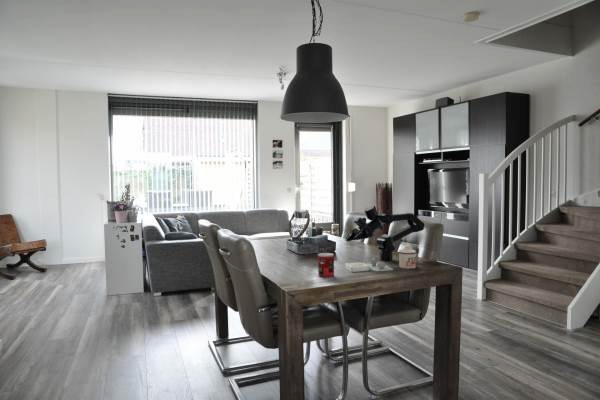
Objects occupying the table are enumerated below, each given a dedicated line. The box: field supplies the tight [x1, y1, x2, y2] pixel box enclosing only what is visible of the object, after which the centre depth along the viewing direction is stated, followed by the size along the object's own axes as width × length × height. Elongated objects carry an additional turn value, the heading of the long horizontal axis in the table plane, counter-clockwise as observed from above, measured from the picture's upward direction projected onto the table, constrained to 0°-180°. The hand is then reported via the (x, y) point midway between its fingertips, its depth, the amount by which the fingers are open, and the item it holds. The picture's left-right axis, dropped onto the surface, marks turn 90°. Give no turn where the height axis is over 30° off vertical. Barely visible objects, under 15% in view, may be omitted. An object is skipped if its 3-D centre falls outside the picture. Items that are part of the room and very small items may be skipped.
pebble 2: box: [377, 260, 386, 269], centre depth 227 cm, size 4×4×4 cm
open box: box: [344, 261, 371, 273], centre depth 228 cm, size 10×10×3 cm
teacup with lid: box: [398, 245, 419, 269], centre depth 231 cm, size 12×9×12 cm
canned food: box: [317, 252, 335, 278], centre depth 217 cm, size 8×8×11 cm
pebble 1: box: [369, 257, 379, 266], centre depth 236 cm, size 4×4×4 cm
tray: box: [364, 261, 394, 272], centre depth 232 cm, size 10×18×1 cm, turn 14°
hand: (350, 240), depth 239 cm, fingers open, 9 cm apart
